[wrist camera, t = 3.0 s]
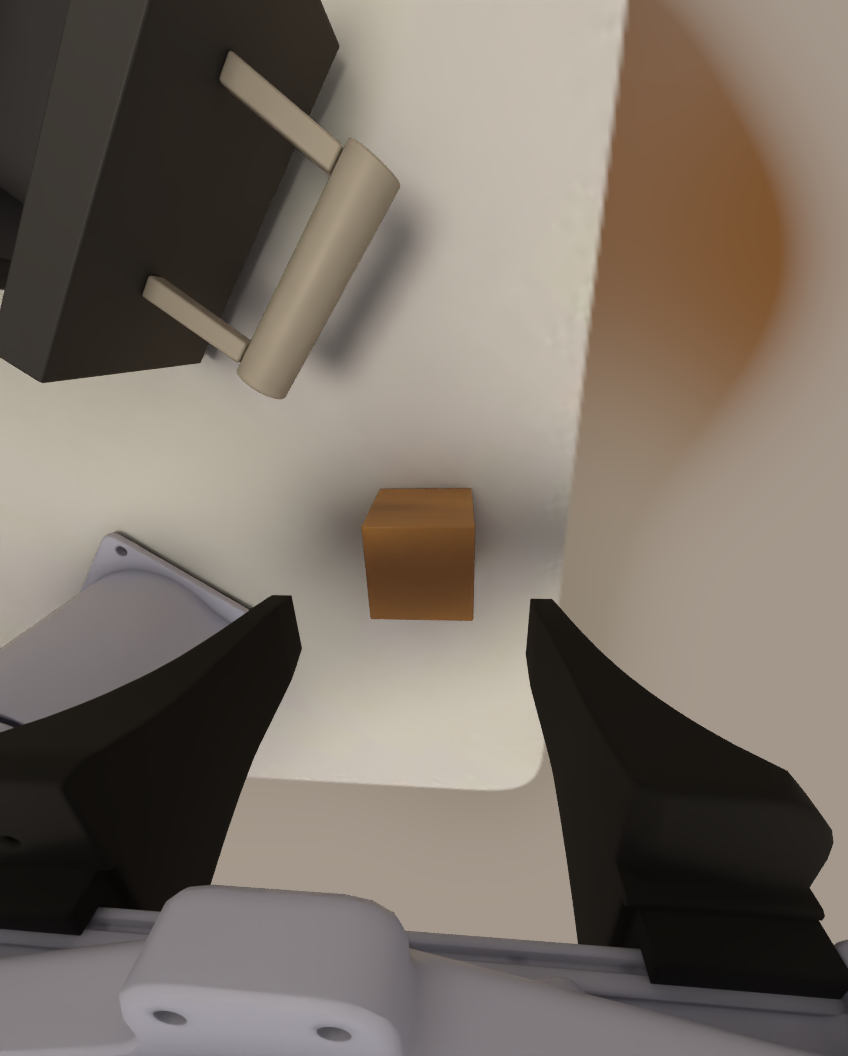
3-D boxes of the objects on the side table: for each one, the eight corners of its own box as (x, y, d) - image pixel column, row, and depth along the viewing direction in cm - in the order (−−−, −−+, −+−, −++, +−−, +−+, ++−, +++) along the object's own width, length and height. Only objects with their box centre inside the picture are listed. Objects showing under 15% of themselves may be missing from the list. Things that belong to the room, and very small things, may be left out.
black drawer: (458, 153, 13) (459, -9, 7) (297, 430, 17) (206, 487, 11) (-127, -377, 10) (-1139, -1606, 4) (-156, 118, 14) (-658, -55, 7)
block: (470, 568, 20) (473, 621, 16) (385, 567, 20) (370, 619, 17) (471, 487, 18) (475, 526, 15) (379, 488, 19) (360, 526, 15)
